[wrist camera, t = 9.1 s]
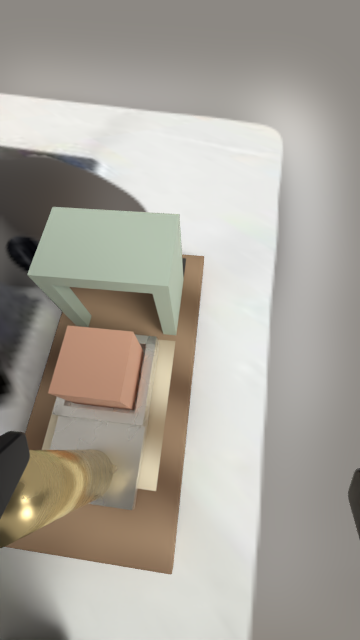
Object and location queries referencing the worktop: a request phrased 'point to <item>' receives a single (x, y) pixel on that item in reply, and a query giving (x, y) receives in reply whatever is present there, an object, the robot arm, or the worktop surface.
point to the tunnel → (110, 259)
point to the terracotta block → (98, 368)
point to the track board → (160, 442)
